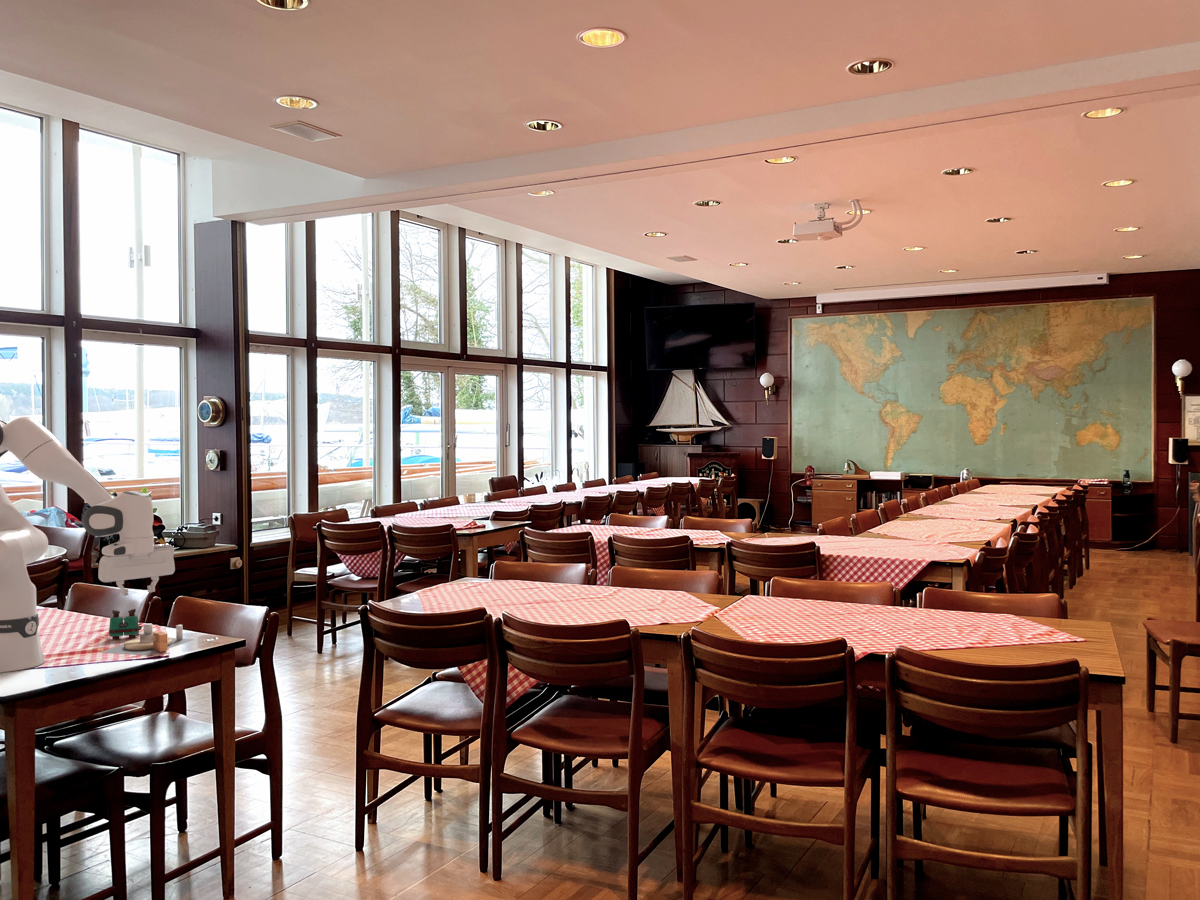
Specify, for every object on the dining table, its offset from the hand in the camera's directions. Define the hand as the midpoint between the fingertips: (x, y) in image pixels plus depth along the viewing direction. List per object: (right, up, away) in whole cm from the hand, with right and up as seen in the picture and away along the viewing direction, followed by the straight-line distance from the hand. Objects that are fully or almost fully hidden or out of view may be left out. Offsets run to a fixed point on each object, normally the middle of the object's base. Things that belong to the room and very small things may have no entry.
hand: (138, 593), depth 260 cm
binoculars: (-16, -19, +22) cm, 33 cm away
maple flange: (0, -17, +8) cm, 19 cm away
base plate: (-2, -19, +10) cm, 21 cm away
